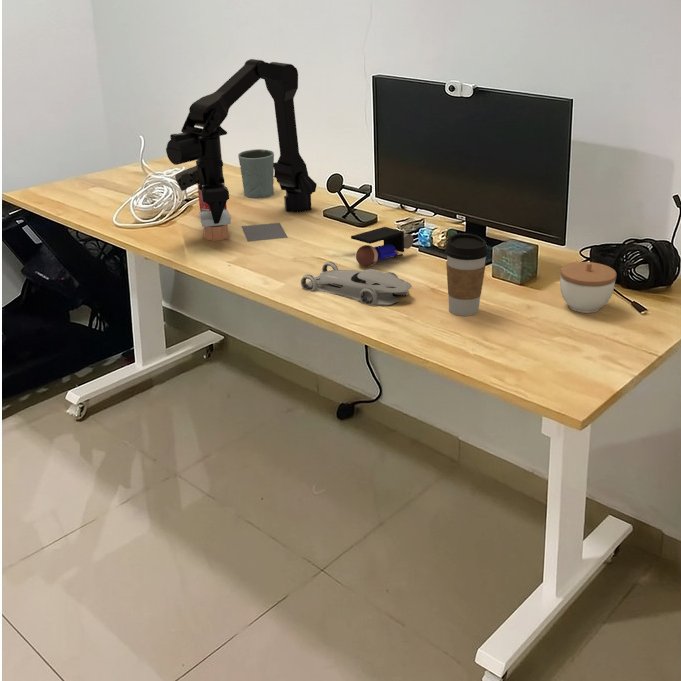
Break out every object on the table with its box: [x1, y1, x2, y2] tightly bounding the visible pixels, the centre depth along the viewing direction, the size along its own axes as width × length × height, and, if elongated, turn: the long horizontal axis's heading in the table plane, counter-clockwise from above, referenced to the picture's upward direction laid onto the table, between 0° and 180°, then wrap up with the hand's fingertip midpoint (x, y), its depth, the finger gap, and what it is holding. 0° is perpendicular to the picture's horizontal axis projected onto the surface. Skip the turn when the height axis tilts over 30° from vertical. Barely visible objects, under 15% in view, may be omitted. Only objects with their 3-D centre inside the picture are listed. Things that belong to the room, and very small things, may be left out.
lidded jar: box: [559, 261, 618, 314], centre depth 169 cm, size 11×11×9 cm
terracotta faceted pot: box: [202, 224, 230, 242], centre depth 210 cm, size 6×6×5 cm
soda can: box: [197, 183, 228, 212], centre depth 223 cm, size 7×7×12 cm
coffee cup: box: [444, 232, 489, 317], centre depth 168 cm, size 8×8×15 cm
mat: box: [240, 222, 289, 242], centre depth 213 cm, size 10×12×1 cm
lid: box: [198, 209, 232, 228], centre depth 209 cm, size 7×7×2 cm
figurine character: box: [350, 226, 414, 268], centre depth 196 cm, size 7×8×15 cm
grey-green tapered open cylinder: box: [237, 148, 275, 199], centre depth 244 cm, size 10×10×12 cm
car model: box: [300, 261, 413, 307], centre depth 180 cm, size 11×24×5 cm, turn 59°
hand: (215, 219), depth 209 cm, fingers closed on lid, 7 cm apart
